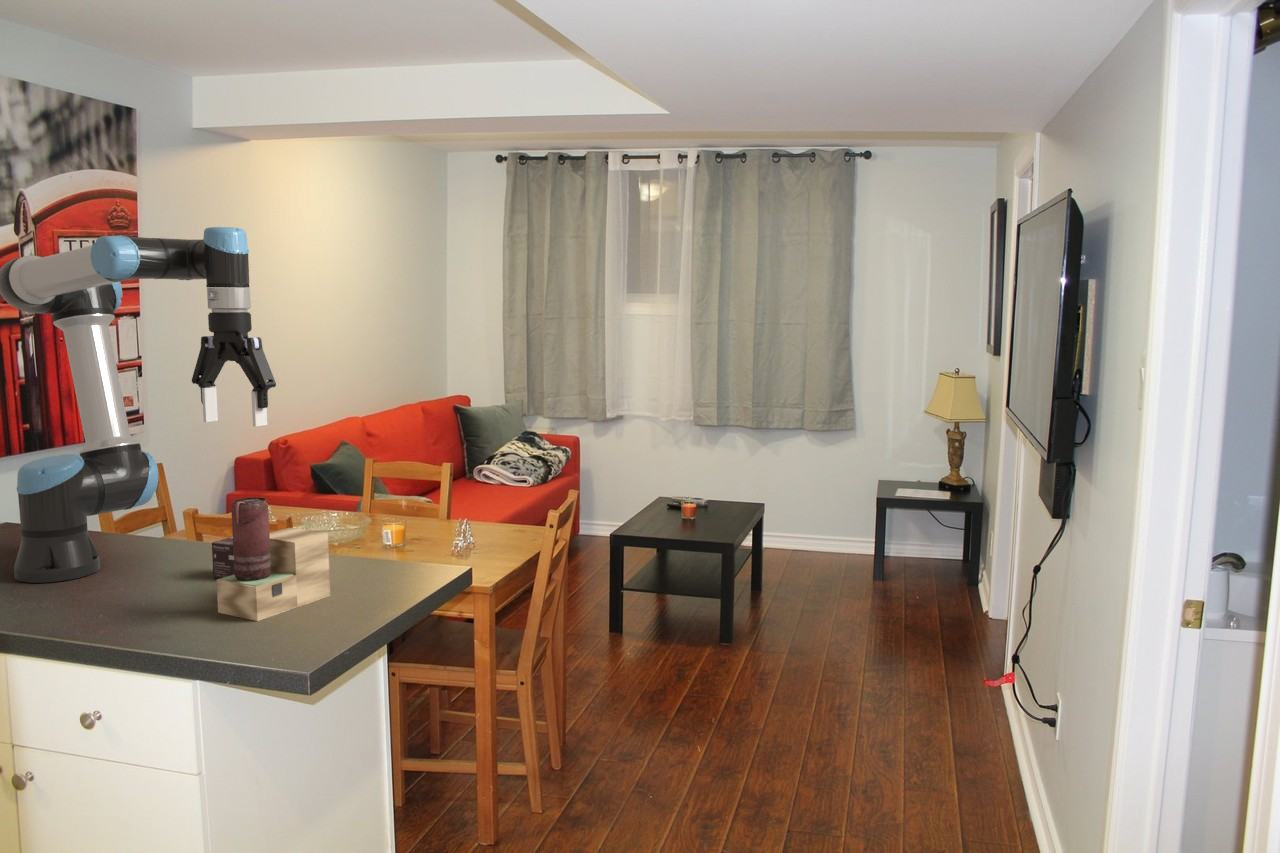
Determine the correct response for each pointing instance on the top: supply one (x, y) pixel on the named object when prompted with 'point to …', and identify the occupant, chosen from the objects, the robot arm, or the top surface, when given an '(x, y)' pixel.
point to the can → (251, 538)
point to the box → (223, 558)
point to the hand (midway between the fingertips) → (235, 423)
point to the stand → (281, 578)
